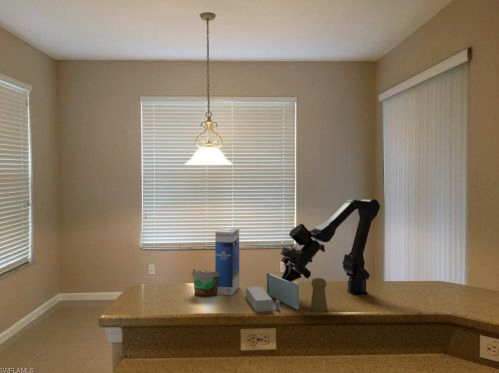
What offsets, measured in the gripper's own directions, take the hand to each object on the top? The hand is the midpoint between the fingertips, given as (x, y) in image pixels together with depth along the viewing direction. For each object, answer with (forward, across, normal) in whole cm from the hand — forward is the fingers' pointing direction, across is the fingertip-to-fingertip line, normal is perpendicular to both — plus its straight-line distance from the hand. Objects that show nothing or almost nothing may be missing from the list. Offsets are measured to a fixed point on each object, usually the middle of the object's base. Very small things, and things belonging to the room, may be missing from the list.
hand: (281, 283), depth 149 cm
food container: (+24, -14, -17) cm, 33 cm away
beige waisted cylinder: (-2, +13, +12) cm, 18 cm away
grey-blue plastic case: (+10, +1, -1) cm, 10 cm away
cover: (+4, +3, +4) cm, 7 cm away
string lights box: (+17, -18, -8) cm, 26 cm away
